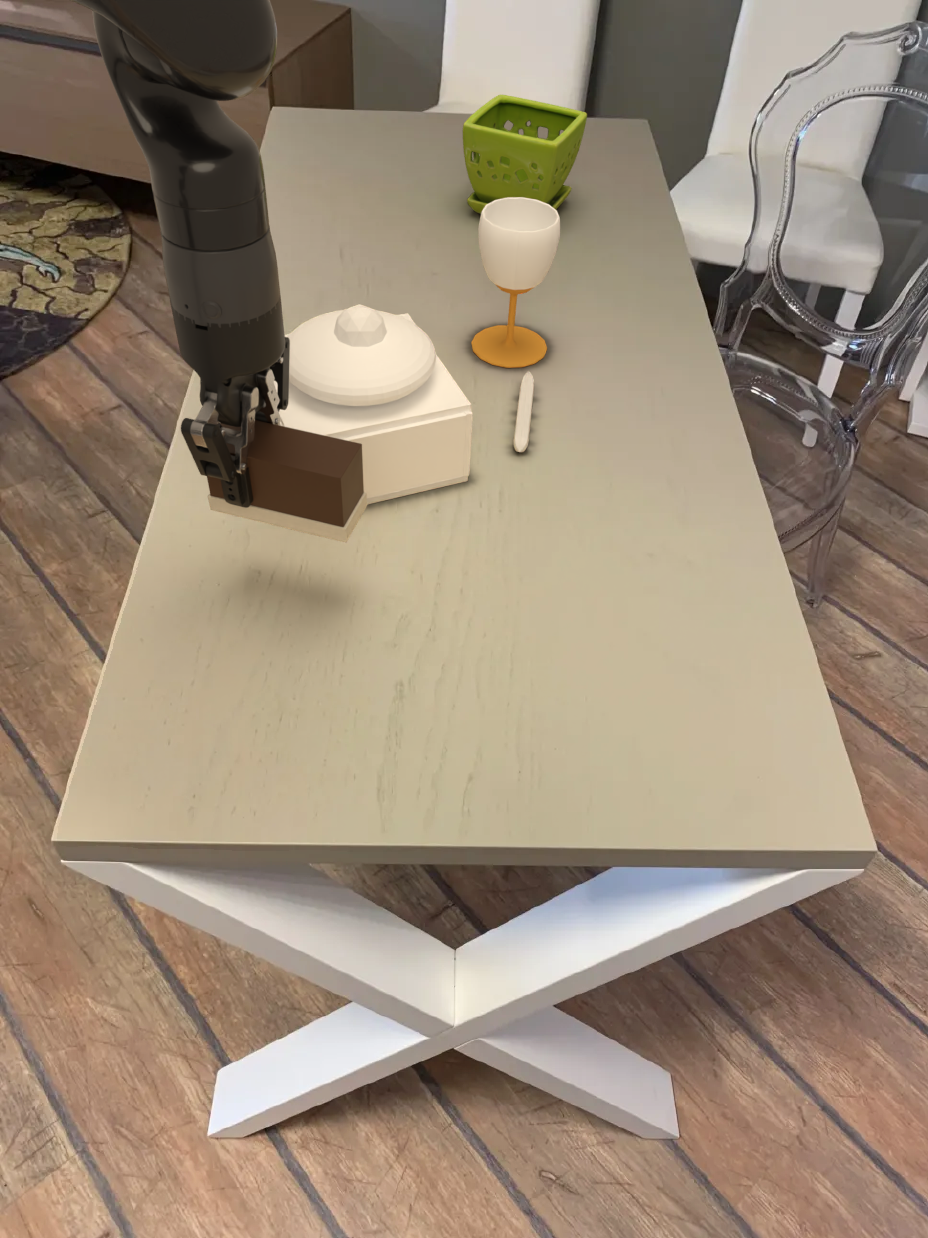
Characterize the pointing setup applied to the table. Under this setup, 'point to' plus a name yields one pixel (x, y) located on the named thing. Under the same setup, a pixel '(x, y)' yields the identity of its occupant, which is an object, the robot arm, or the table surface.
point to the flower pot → (521, 150)
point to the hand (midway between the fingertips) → (253, 483)
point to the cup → (515, 272)
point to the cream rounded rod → (524, 413)
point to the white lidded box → (380, 399)
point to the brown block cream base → (300, 482)
